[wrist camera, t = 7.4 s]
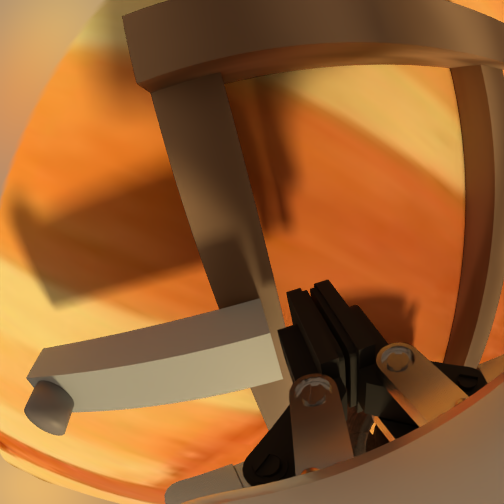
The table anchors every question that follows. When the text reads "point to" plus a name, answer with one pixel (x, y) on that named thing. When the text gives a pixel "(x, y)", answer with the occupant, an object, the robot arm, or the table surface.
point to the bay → (307, 57)
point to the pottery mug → (363, 432)
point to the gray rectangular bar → (154, 366)
